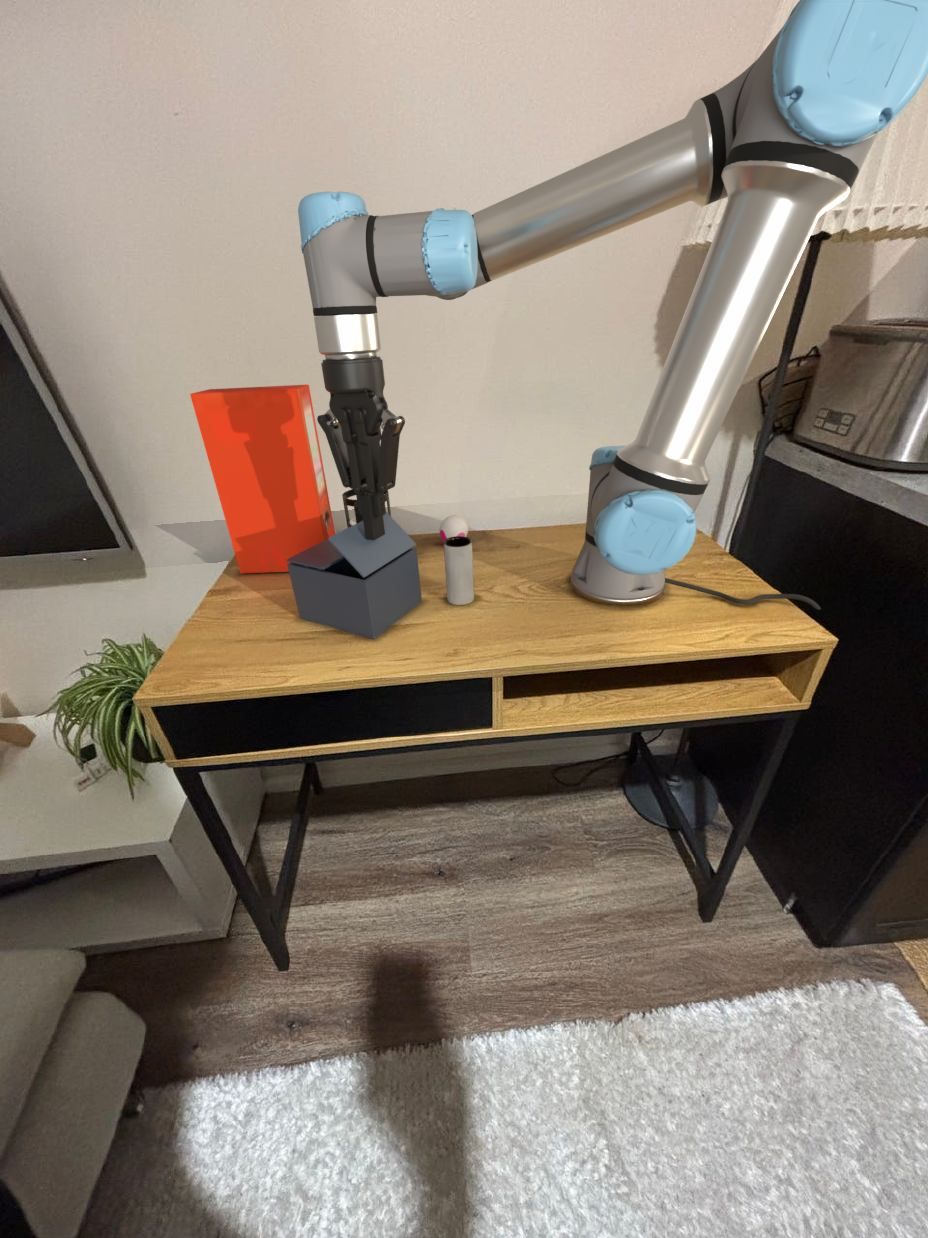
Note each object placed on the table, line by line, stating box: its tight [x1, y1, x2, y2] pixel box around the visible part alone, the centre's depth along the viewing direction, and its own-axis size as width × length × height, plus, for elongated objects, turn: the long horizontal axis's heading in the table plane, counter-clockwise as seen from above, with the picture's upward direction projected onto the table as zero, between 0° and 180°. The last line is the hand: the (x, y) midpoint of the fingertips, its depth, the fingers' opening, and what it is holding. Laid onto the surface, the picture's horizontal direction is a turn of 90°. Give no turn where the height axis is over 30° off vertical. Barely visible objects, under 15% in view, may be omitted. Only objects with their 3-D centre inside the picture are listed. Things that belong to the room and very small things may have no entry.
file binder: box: [190, 384, 336, 574], centre depth 94 cm, size 8×17×32 cm, turn 90°
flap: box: [328, 511, 417, 578], centre depth 76 cm, size 7×13×1 cm
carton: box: [287, 539, 423, 640], centre depth 82 cm, size 15×13×10 cm
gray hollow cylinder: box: [443, 536, 475, 606], centre depth 83 cm, size 4×4×10 cm
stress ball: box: [437, 514, 469, 545], centre depth 107 cm, size 8×8×7 cm
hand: (375, 536), depth 75 cm, fingers closed
